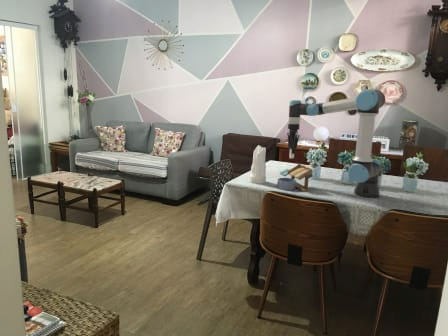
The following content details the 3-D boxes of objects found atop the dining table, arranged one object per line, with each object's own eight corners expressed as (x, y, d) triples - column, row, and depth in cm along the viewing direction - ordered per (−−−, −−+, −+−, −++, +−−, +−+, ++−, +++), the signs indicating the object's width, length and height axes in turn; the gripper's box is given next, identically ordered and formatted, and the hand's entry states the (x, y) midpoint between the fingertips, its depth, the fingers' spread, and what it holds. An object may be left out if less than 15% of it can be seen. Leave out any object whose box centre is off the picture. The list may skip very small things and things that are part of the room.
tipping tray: (314, 176, 232) (311, 168, 230) (297, 186, 230) (294, 178, 228) (297, 168, 253) (294, 161, 251) (281, 177, 251) (278, 170, 249)
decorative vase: (264, 184, 243) (267, 147, 238) (248, 182, 245) (251, 146, 240) (266, 180, 254) (268, 145, 249) (251, 179, 256) (253, 144, 251)
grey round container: (298, 189, 233) (298, 181, 232) (282, 190, 230) (283, 182, 229) (290, 185, 244) (290, 177, 242) (275, 186, 240) (275, 178, 239)
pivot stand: (310, 191, 231) (311, 176, 229) (302, 191, 229) (303, 176, 227) (295, 183, 250) (296, 169, 247) (287, 183, 248) (288, 169, 246)
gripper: (284, 122, 247) (282, 156, 252) (293, 124, 235) (291, 160, 240) (294, 122, 250) (291, 156, 254) (303, 124, 237) (301, 159, 242)
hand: (291, 158), depth 247 cm, fingers closed
